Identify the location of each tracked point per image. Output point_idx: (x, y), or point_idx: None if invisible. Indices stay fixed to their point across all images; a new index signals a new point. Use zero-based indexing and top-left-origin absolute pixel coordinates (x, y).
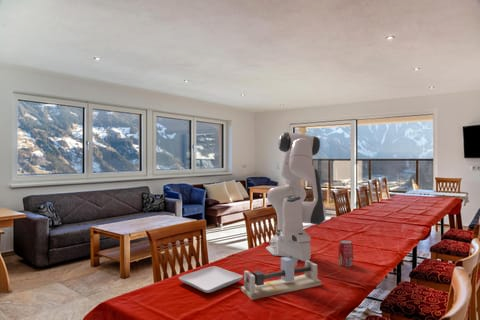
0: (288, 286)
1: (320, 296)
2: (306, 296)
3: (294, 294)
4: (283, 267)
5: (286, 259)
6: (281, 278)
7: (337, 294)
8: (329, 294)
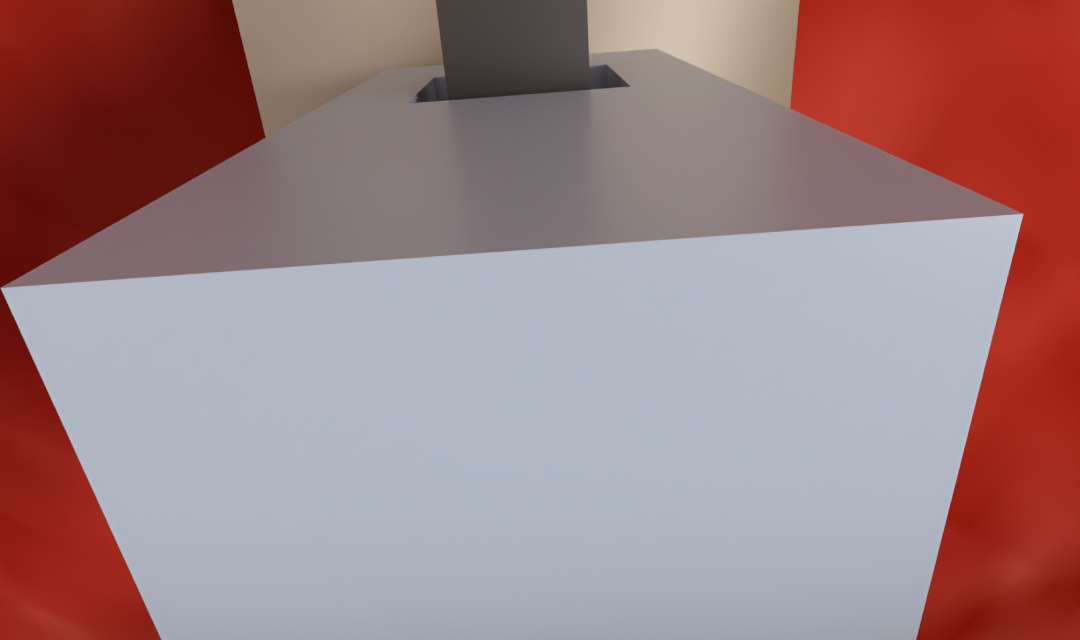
0: (337, 80)
1: (7, 434)
2: (20, 245)
3: (129, 82)
4: (513, 113)
5: (370, 461)
6: (628, 51)
7: (59, 633)
8: (69, 560)
